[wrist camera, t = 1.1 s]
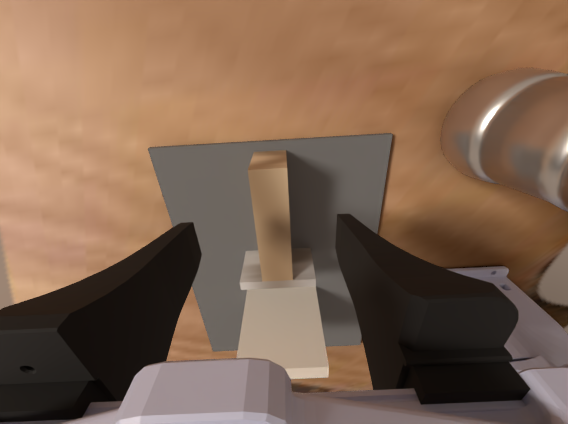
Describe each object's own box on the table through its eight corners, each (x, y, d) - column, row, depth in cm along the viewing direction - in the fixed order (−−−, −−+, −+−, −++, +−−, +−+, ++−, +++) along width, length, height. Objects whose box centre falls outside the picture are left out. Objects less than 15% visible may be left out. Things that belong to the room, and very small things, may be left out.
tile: (315, 286, 25) (328, 366, 18) (315, 297, 26) (328, 378, 19) (247, 289, 25) (234, 370, 18) (249, 300, 26) (237, 382, 19)
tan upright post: (310, 148, 19) (316, 165, 15) (310, 254, 23) (315, 286, 20) (230, 153, 19) (218, 171, 15) (247, 257, 24) (241, 289, 20)
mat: (390, 133, 18) (392, 134, 18) (359, 341, 31) (360, 344, 30) (150, 147, 19) (147, 148, 18) (213, 348, 31) (213, 351, 31)
